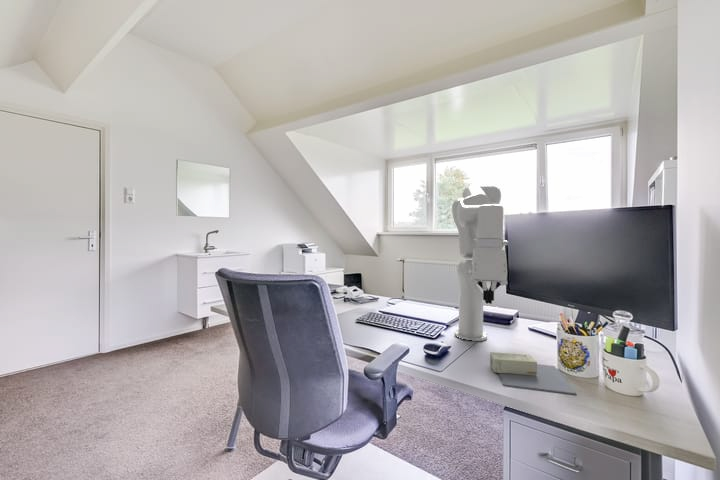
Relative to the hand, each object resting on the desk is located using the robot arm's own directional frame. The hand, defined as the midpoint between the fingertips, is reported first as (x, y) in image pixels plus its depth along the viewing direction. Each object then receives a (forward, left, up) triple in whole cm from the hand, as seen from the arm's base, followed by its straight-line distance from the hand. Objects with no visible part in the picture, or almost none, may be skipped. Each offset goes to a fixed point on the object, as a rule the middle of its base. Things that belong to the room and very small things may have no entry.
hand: (488, 302), depth 100 cm
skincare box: (0, +1, -19) cm, 19 cm away
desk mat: (+1, +12, -21) cm, 24 cm away
